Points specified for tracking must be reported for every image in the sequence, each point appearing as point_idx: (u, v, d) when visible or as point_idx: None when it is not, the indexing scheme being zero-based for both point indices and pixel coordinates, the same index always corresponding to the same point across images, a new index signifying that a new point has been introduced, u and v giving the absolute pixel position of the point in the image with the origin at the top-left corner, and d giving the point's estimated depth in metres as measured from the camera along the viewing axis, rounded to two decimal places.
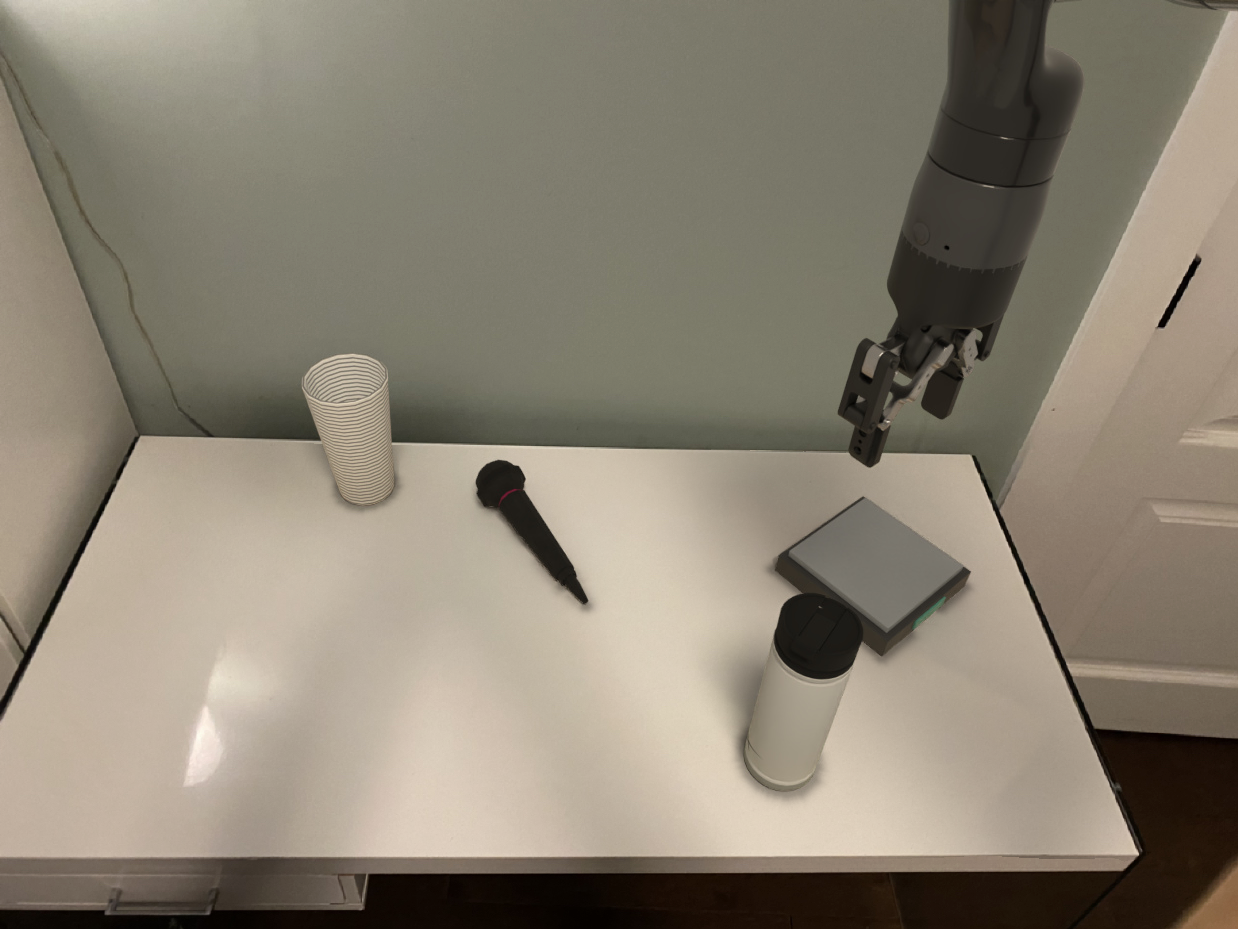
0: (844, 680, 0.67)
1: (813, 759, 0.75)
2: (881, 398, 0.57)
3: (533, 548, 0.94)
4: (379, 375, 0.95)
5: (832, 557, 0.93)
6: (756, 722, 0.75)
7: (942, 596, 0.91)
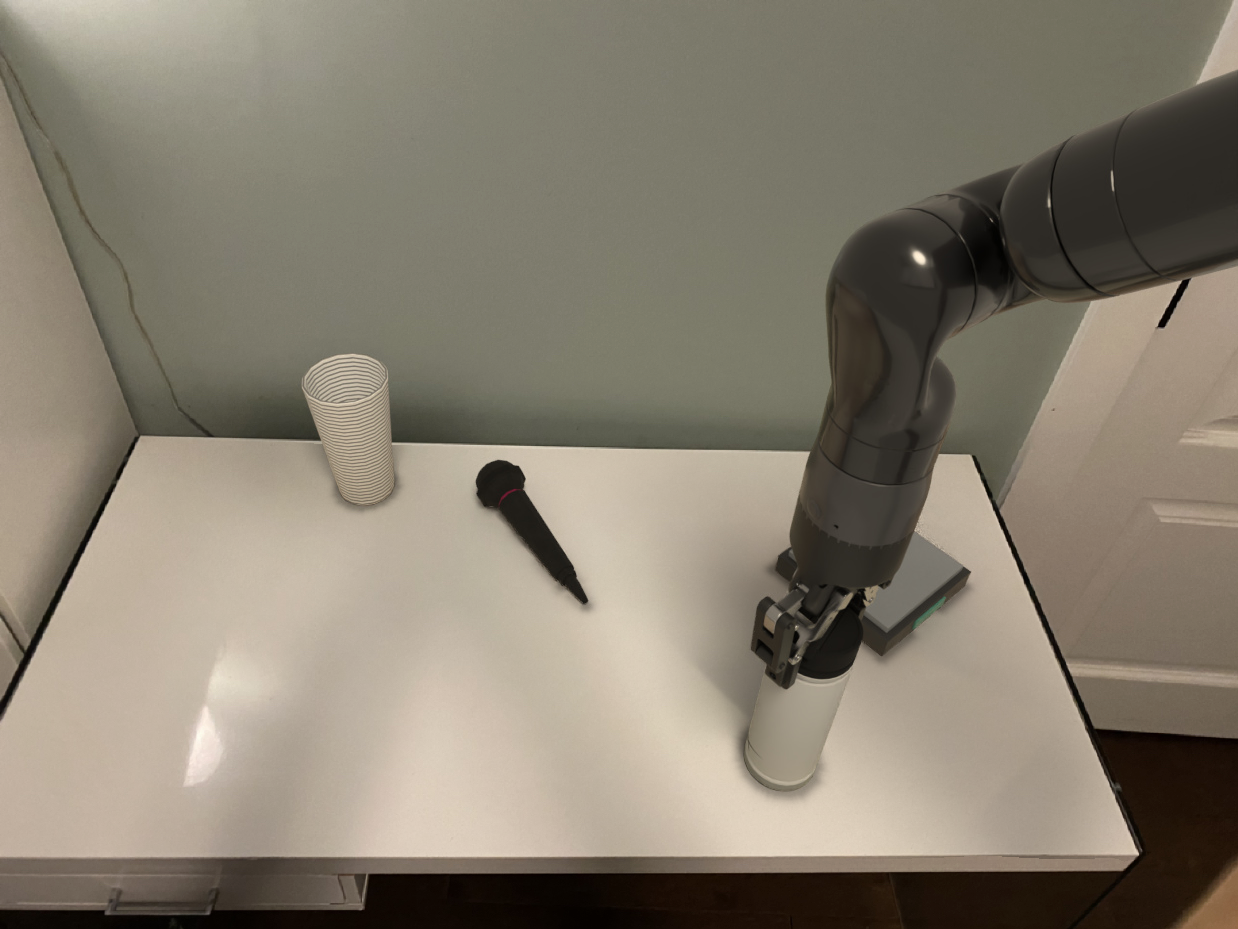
0: (844, 680, 0.67)
1: (813, 759, 0.75)
2: (784, 649, 0.60)
3: (533, 548, 0.94)
4: (379, 375, 0.95)
5: None
6: (756, 722, 0.75)
7: (942, 596, 0.91)
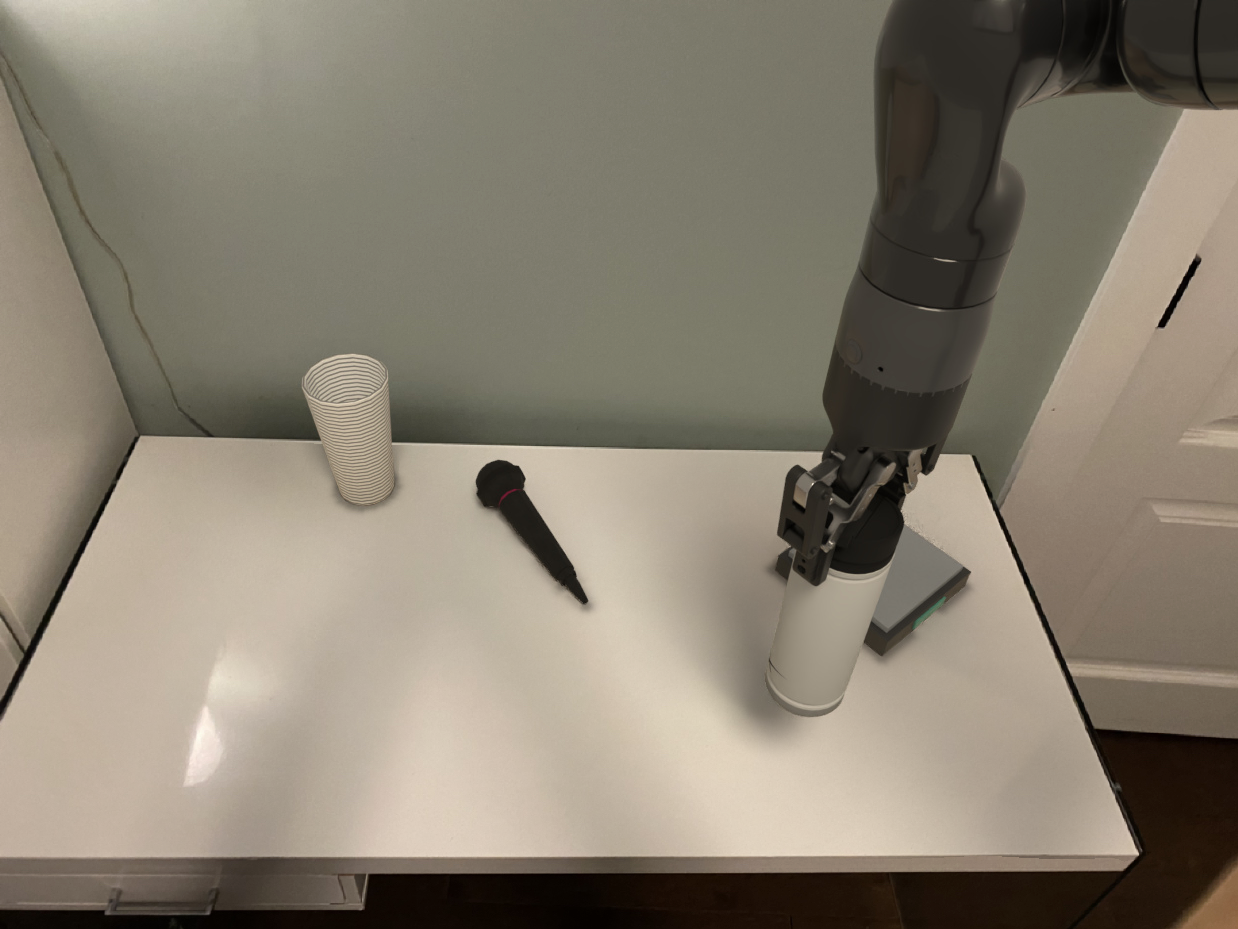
0: (882, 577, 0.59)
1: (843, 678, 0.67)
2: (817, 527, 0.52)
3: (533, 548, 0.94)
4: (379, 375, 0.95)
5: None
6: (779, 636, 0.67)
7: (942, 596, 0.91)
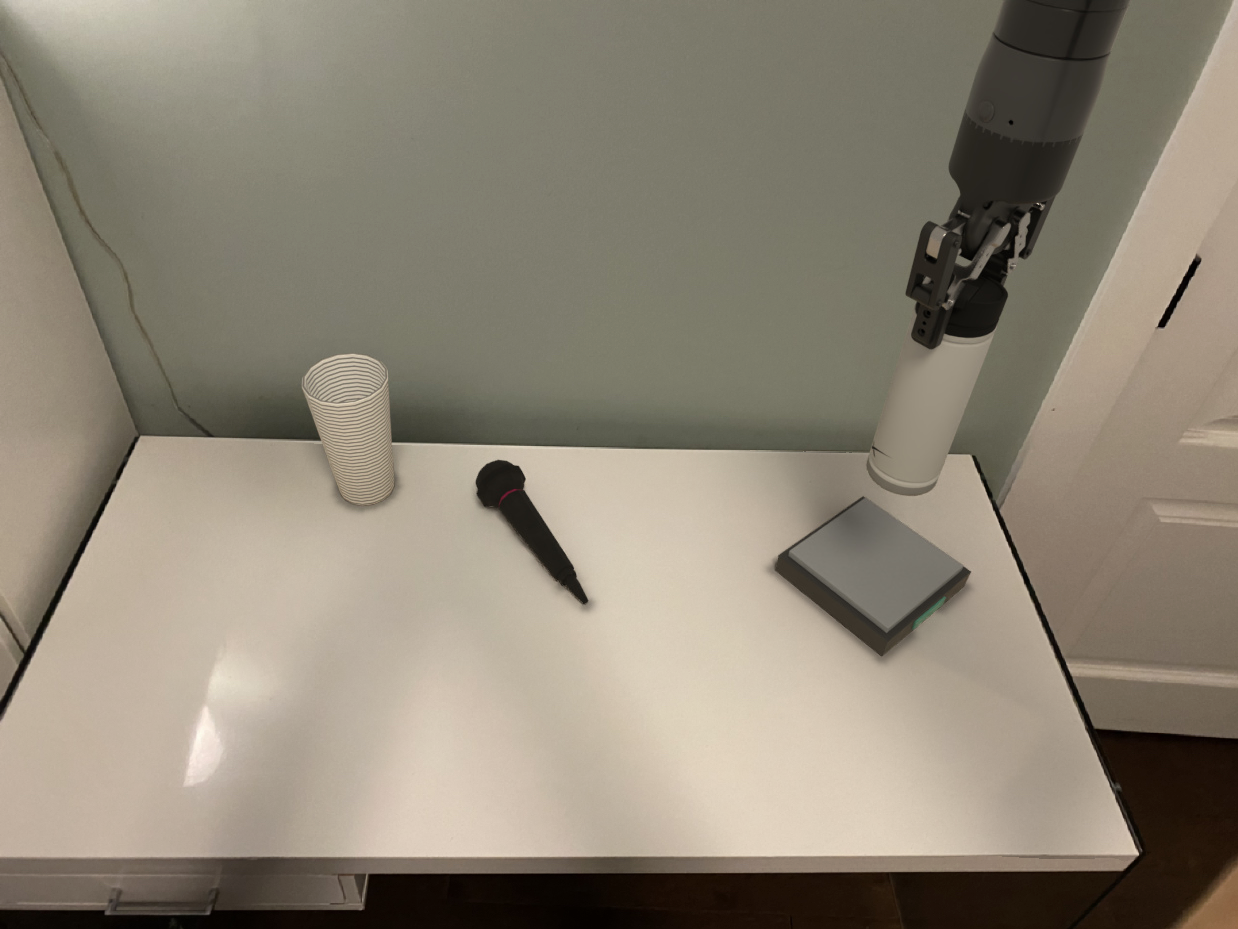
0: (986, 345, 0.69)
1: (942, 454, 0.76)
2: (946, 276, 0.62)
3: (533, 548, 0.94)
4: (379, 375, 0.95)
5: (832, 557, 0.93)
6: (887, 417, 0.76)
7: (942, 596, 0.91)
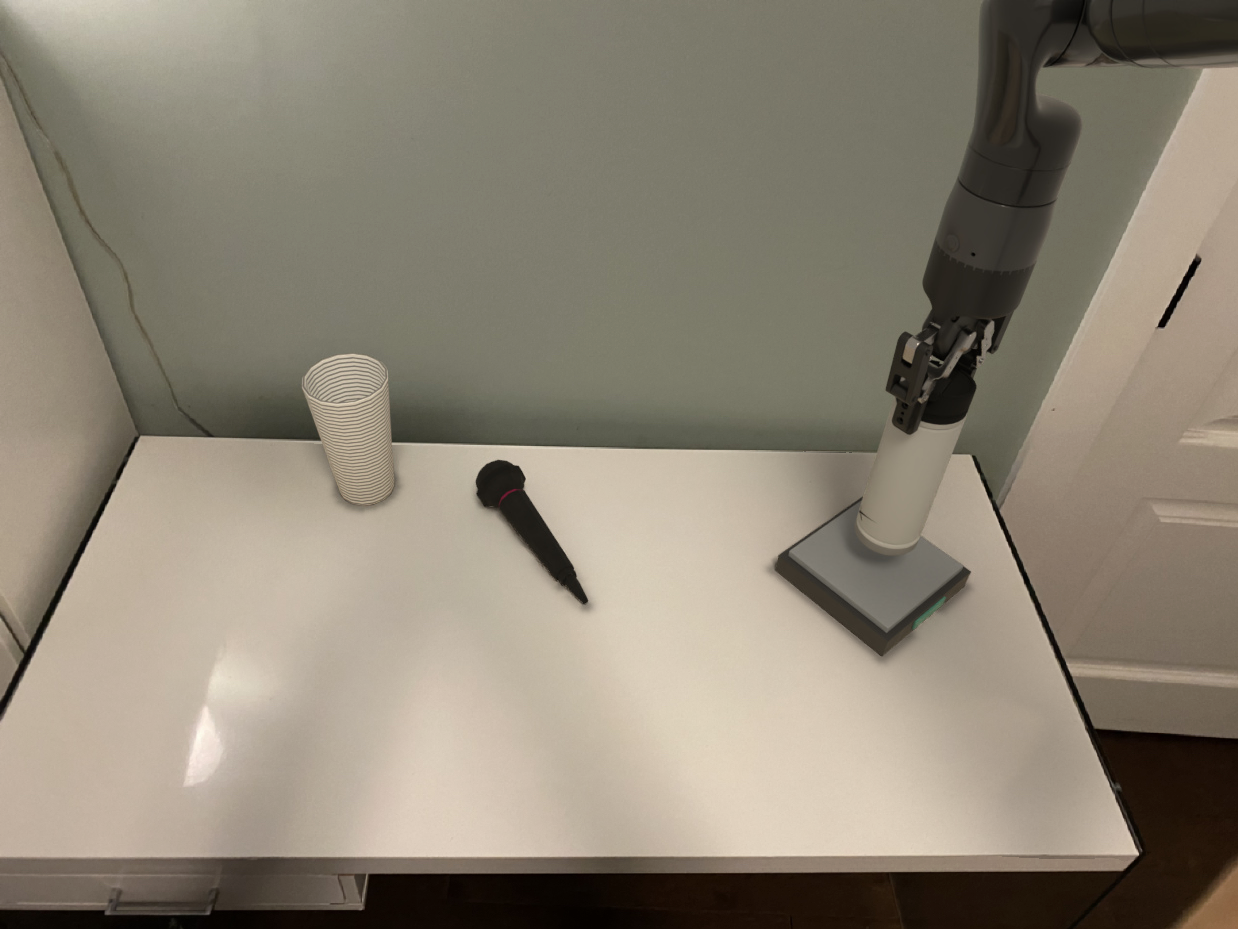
0: (958, 430, 0.78)
1: (921, 520, 0.86)
2: (919, 378, 0.71)
3: (533, 548, 0.94)
4: (379, 375, 0.95)
5: (832, 557, 0.93)
6: (872, 487, 0.85)
7: (942, 596, 0.91)
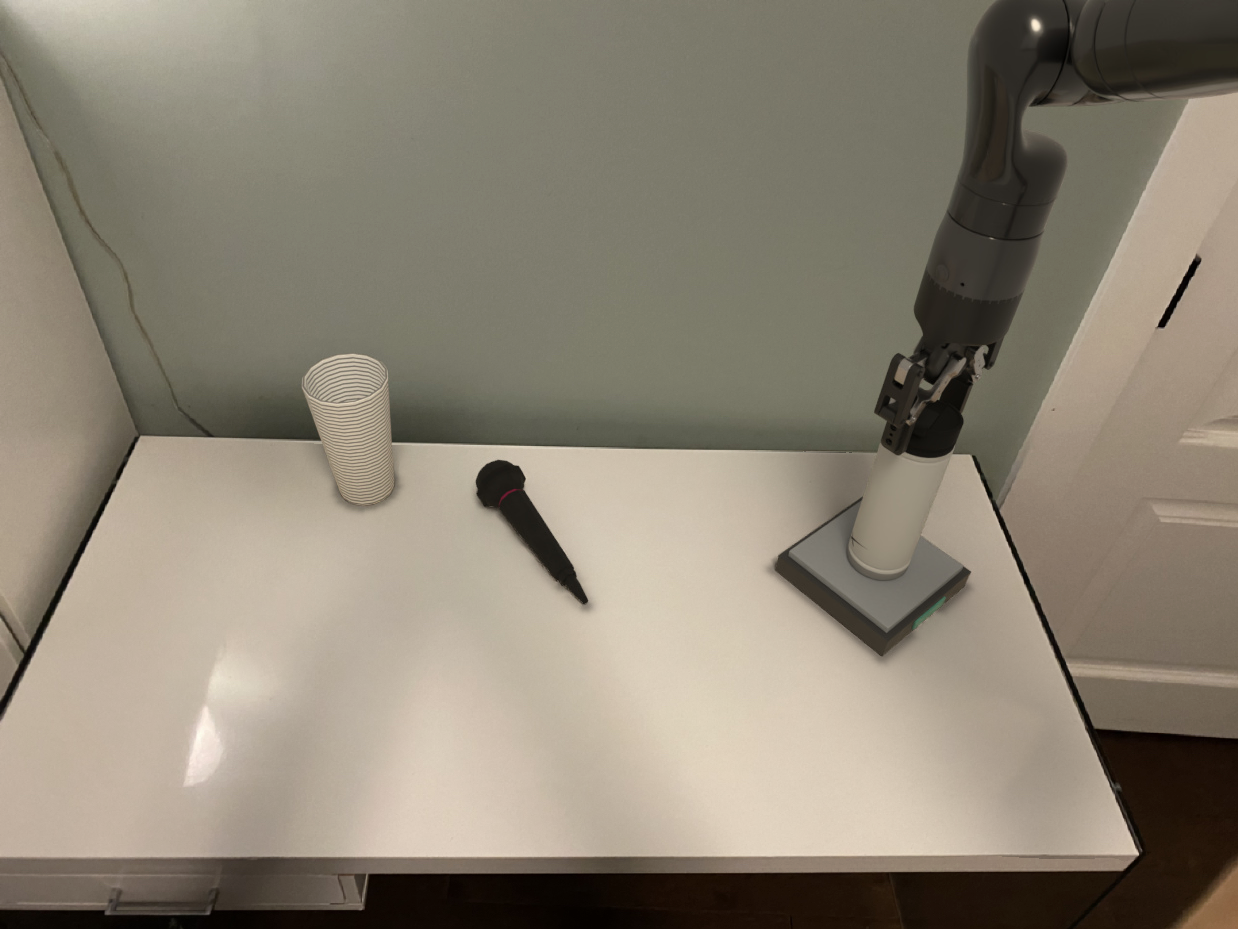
0: (946, 462, 0.81)
1: (911, 547, 0.88)
2: (909, 400, 0.73)
3: (533, 548, 0.94)
4: (379, 375, 0.95)
5: (832, 557, 0.93)
6: (863, 515, 0.88)
7: (942, 596, 0.91)
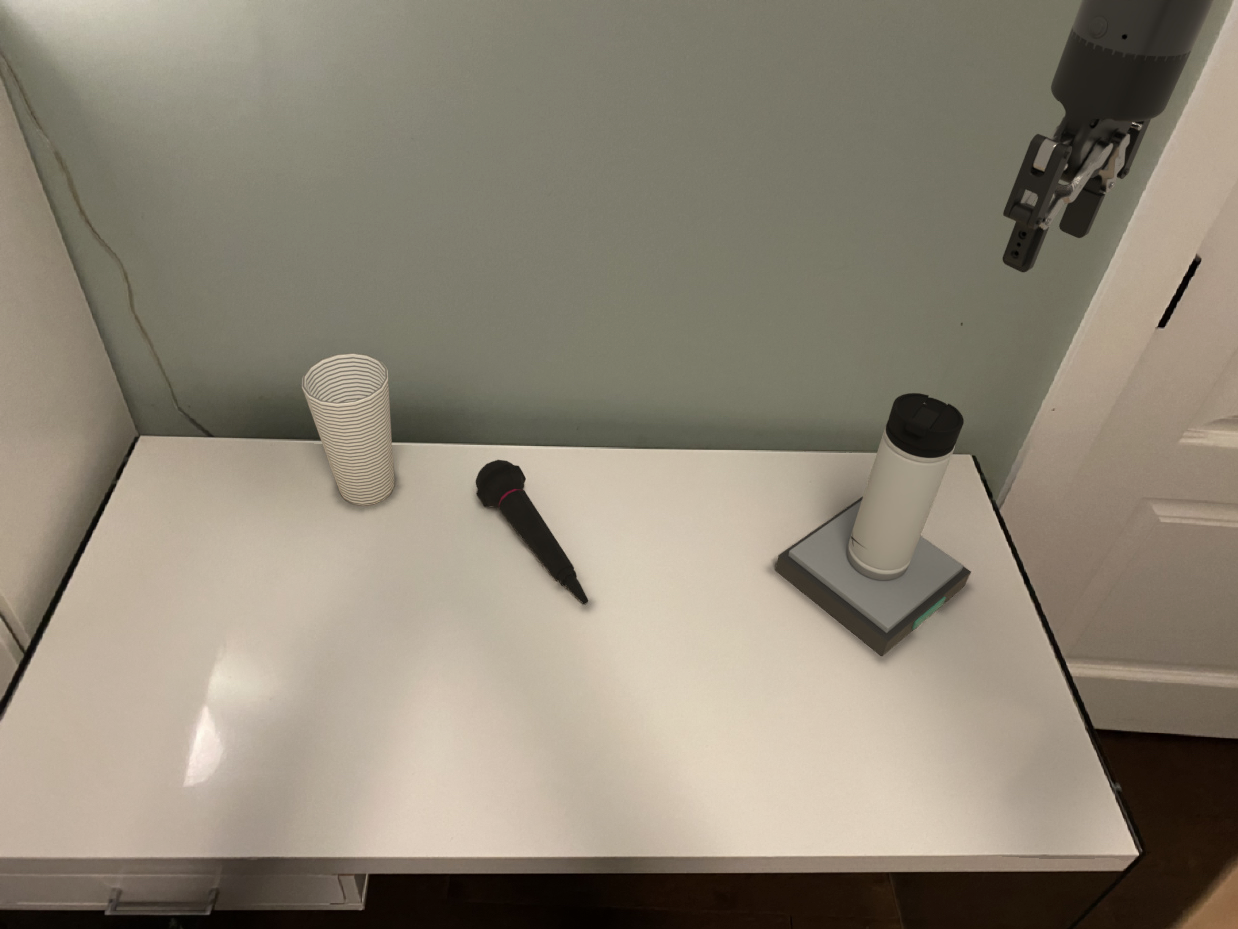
0: (946, 462, 0.81)
1: (911, 547, 0.88)
2: (1050, 191, 0.62)
3: (533, 548, 0.94)
4: (379, 375, 0.95)
5: (832, 557, 0.93)
6: (863, 515, 0.88)
7: (942, 596, 0.91)
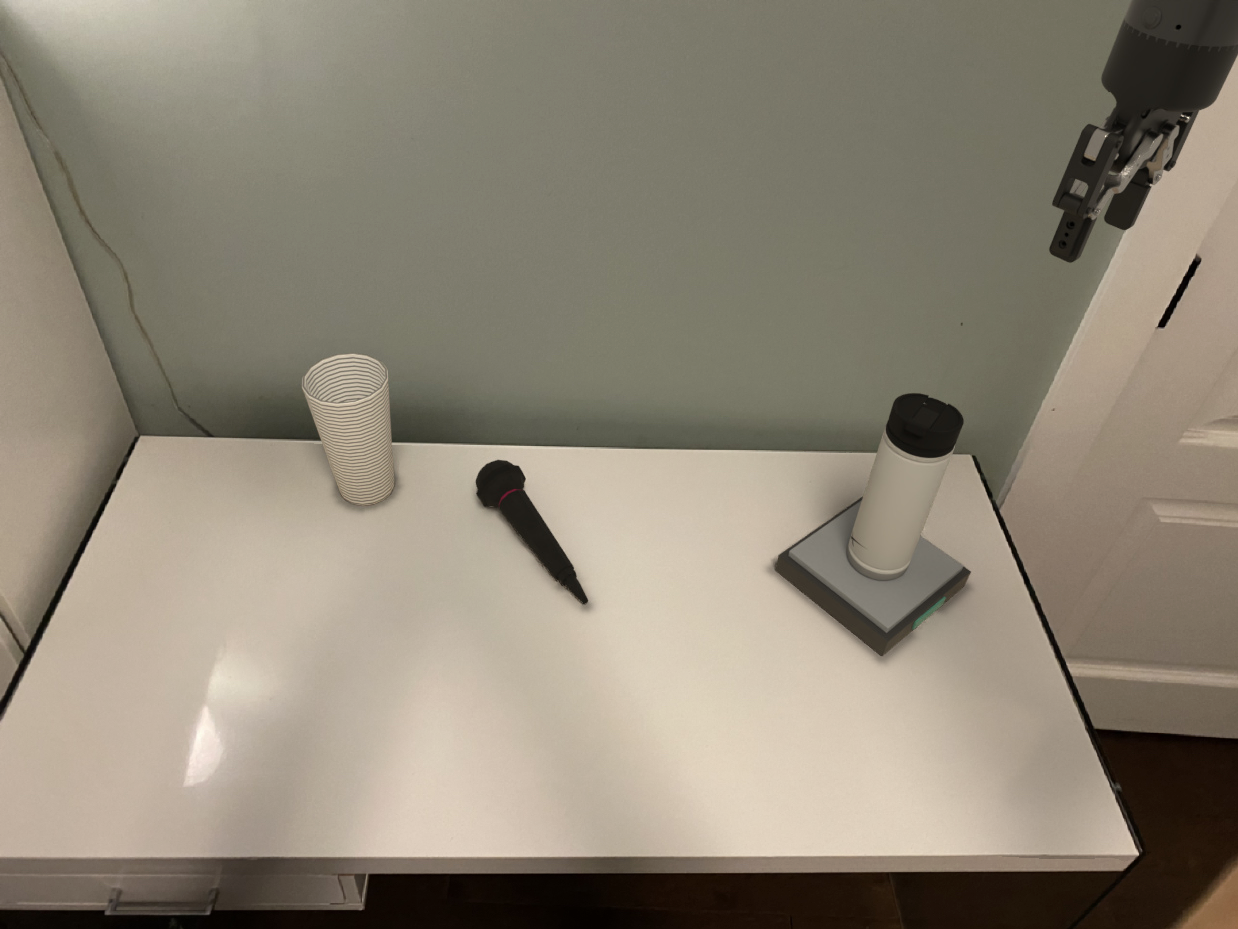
0: (946, 462, 0.81)
1: (911, 547, 0.88)
2: (1101, 180, 0.63)
3: (533, 548, 0.94)
4: (379, 375, 0.95)
5: (832, 557, 0.93)
6: (863, 515, 0.88)
7: (942, 596, 0.91)
